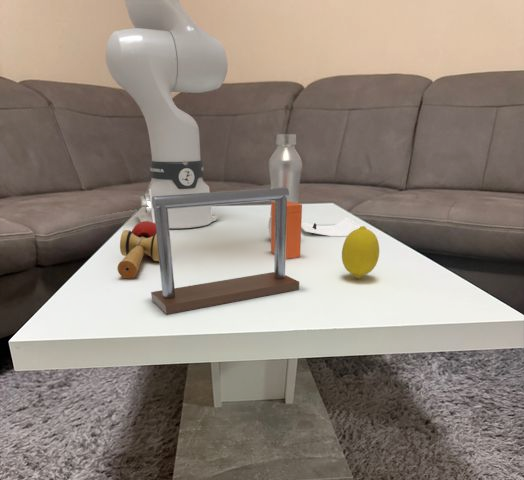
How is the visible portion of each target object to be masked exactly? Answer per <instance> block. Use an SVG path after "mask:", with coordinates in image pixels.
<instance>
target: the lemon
mask: <svg viewBox="0 0 524 480" xmlns="http://www.w3.org/2000/svg"><path fill="white" fill-rule="evenodd" d="M360 226H361V227H359V228H358V229H356V230H354V231H352V232H351V233H350V234H349V235H348V236H346V237H345V239H344V242H343V245H342V248H341V261H342V264H343V266H344V268H345V270H346V271H347V272H348V273H350V274H351V275H353V276H354V278H355V279H361V278H362V277H363V276H364V275H367V274H369V273H371V272H372V271H373V270H375V267H376V266H377V264H378V261H379V257H380V243H379V240H378V237H377V235H376V234H375V233H374V232H373V231H372V230H370V229H368V228H367V227H366V226H364V225H360Z"/></svg>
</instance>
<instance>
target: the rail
mask: <svg viewBox="0 0 524 480" xmlns="http://www.w3.org/2000/svg"><path fill="white" fill-rule="evenodd" d="M288 197H289V190H288V188H286V187H283V188H271V187H270V188H254V189H253V188H252V189H240V190H225V191H212V192H211V191H210V192H209V193H194V194H179V195H165V196H153V197H152V206H153V209H154V214H155V224H156V234H157V244H158V254H159V261H158V263H159V271H160V281H161V282H160V283H161V290H155V291H151V292H150V296H151V301H152V302H153V303H154V304H155V305H156V306H157V307H158V308H159V309H160V310H161V311H162V312H163V313H164V314H165V315H171V314H177V313H181V312H186V311H187V312H188V311H192V310H197V309H201V308H202V309H203V308H209V307H214V306H219V305H225V304H230V303H236V302H240V301H245V300H250V299H255V298H261V297H267V296H271V295H277V294H282V293H283V294H284V293H288V292H293V291H299V290H300V281H299V280H297V279H295V278H292V277H290V276H289V275H286V261H287V259H286V218H287V199H288ZM271 201H275V254H274V262H273V263H274V266H273V267H274V269H273V270H274V271H272V272H266V273H259V274H254V275H248V276H247V275H246V276H241V277H236V278H235V277H234V278H229V279H223V280H216V281H211V282H205V283H197V284H191V285H186V286H180V287H175V277H174V267H173V254H172V243H171V232H170V231H171V230H170V228H169V219H168V209H178V208H190V207H203V206H211V207H213V206H225V205H237V204H249V203H250V204H251V203H263V202H271Z"/></svg>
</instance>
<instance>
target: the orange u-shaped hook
mask: <svg viewBox="0 0 524 480" xmlns="http://www.w3.org/2000/svg"><path fill="white" fill-rule="evenodd" d="M270 213H271V236H270V254H273V255H275V202H272V209H271V208H270ZM302 217H303V204H302V203H299V202H298V203H294V202H289V201H287V218H286V260H289V259H290V260H291V259H296V258H300V257H301V246H302V245H301V244H302V243H301V242H302V227H301V222H302Z"/></svg>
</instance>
